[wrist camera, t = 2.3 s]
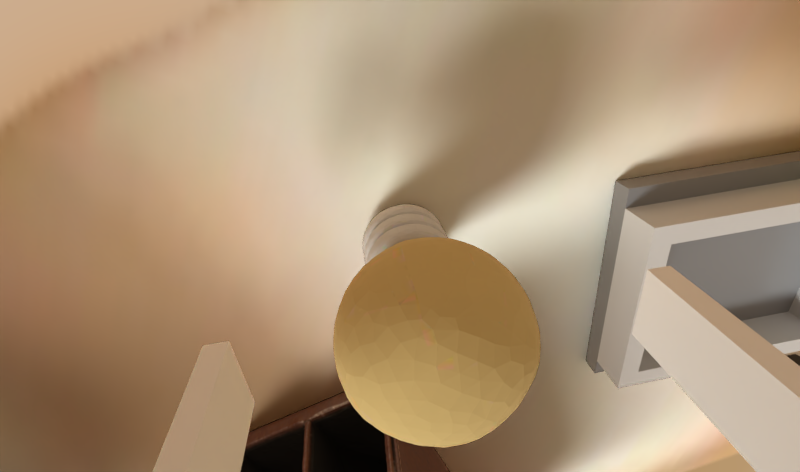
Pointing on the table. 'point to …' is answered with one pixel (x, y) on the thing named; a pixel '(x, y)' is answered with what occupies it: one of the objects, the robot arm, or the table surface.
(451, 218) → the table surface
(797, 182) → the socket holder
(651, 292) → the robot arm
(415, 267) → the light bulb
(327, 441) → the letter holder
